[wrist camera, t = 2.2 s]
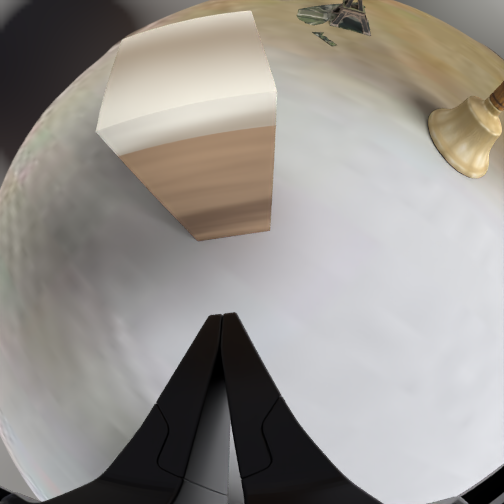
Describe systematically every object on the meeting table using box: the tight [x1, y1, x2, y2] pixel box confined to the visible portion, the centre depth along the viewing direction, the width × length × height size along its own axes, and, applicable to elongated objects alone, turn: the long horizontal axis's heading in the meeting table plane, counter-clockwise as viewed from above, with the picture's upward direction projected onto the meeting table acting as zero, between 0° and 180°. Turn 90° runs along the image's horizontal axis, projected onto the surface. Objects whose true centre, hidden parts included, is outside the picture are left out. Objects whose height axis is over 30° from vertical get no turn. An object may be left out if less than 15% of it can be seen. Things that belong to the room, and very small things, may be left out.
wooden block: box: [96, 11, 277, 241], centre depth 13 cm, size 5×5×13 cm
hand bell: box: [428, 81, 504, 178], centre depth 12 cm, size 8×8×16 cm
